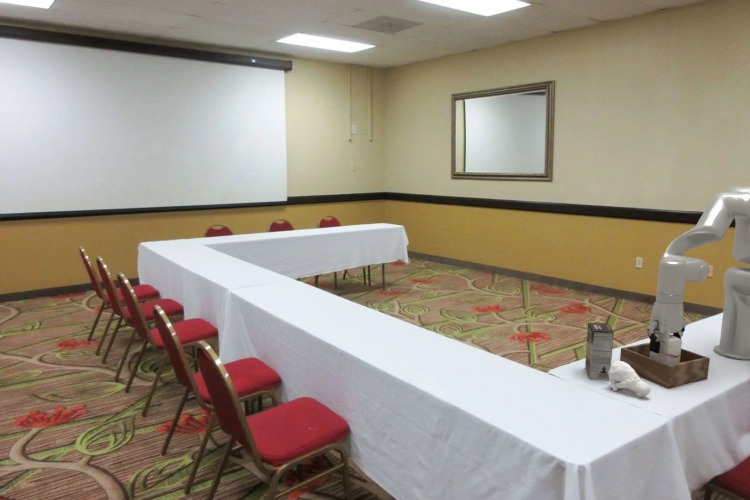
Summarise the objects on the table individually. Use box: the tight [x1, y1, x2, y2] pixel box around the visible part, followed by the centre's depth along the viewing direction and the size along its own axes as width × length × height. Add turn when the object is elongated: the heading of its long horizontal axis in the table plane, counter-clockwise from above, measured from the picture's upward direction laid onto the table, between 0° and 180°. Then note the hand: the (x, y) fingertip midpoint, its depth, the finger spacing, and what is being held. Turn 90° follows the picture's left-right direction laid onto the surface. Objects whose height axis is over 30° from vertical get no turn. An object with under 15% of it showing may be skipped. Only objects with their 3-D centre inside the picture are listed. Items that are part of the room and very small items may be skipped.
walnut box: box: [619, 341, 711, 390], centre depth 173 cm, size 18×18×7 cm
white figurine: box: [608, 360, 651, 399], centre depth 159 cm, size 6×8×12 cm
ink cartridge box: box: [649, 330, 683, 365], centre depth 172 cm, size 9×5×15 cm, turn 9°
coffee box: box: [584, 322, 615, 381], centre depth 171 cm, size 9×6×16 cm
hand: (664, 349), depth 172 cm, fingers open, 9 cm apart
